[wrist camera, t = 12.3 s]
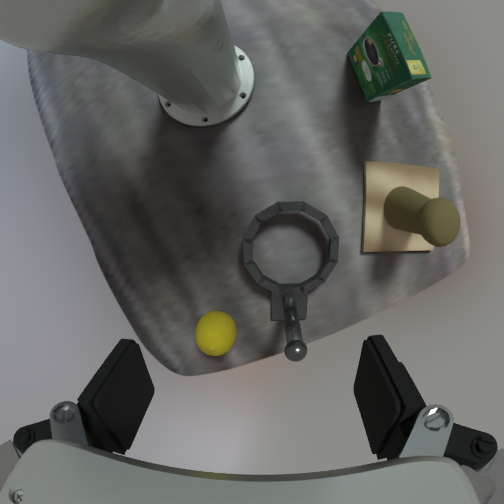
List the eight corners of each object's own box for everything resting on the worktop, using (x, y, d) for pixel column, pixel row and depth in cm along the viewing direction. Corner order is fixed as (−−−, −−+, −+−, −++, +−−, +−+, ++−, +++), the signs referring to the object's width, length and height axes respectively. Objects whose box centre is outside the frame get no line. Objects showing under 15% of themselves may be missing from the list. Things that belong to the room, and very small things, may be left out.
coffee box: (383, 103, 29) (435, 78, 17) (365, 105, 29) (412, 78, 17) (364, 51, 27) (402, 9, 14) (345, 53, 27) (379, 8, 15)
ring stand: (243, 200, 34) (230, 218, 22) (334, 199, 33) (367, 216, 22) (248, 318, 39) (241, 375, 27) (327, 315, 38) (347, 370, 27)
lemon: (194, 311, 39) (180, 342, 32) (225, 295, 38) (215, 325, 31) (216, 338, 41) (206, 372, 33) (246, 323, 39) (241, 357, 32)
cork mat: (364, 161, 32) (366, 161, 31) (436, 168, 31) (439, 168, 30) (361, 250, 35) (363, 251, 34) (430, 248, 34) (433, 250, 34)
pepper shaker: (422, 224, 33) (469, 245, 22) (387, 234, 34) (428, 261, 23) (416, 182, 31) (465, 190, 21) (379, 191, 32) (422, 202, 21)
